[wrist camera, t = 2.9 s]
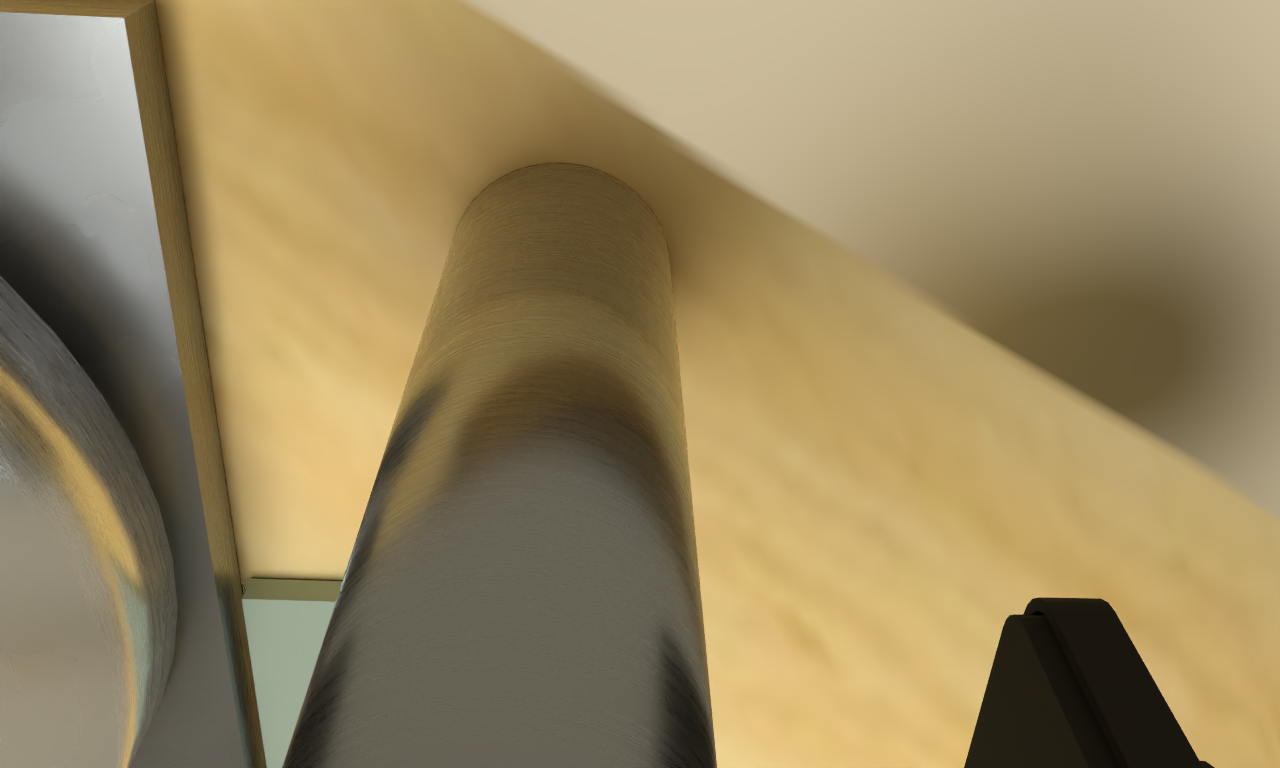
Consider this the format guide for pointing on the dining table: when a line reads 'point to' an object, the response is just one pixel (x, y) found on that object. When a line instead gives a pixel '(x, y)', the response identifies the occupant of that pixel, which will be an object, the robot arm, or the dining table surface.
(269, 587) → the mat
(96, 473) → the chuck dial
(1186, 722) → the dining table surface
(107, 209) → the base
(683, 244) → the dining table surface
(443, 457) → the chrome capsule
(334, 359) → the dining table surface
